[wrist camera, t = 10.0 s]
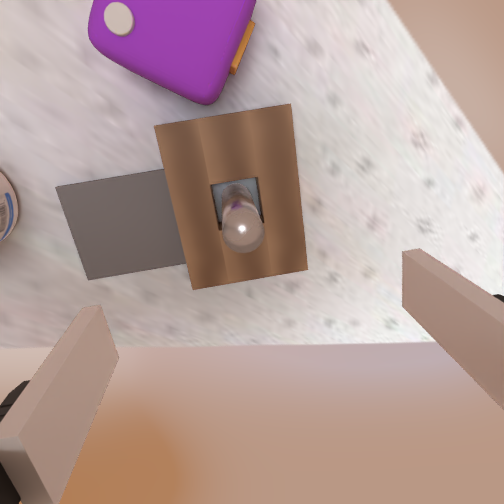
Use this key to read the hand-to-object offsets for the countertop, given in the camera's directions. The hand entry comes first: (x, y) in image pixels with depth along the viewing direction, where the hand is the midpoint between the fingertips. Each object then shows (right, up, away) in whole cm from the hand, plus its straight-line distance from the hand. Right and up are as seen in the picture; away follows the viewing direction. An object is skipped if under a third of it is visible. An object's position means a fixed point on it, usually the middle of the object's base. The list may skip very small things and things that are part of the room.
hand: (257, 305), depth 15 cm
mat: (-13, +5, +21) cm, 25 cm away
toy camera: (-6, +23, +15) cm, 28 cm away
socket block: (-2, +8, +21) cm, 22 cm away
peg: (-2, +8, +21) cm, 22 cm away
